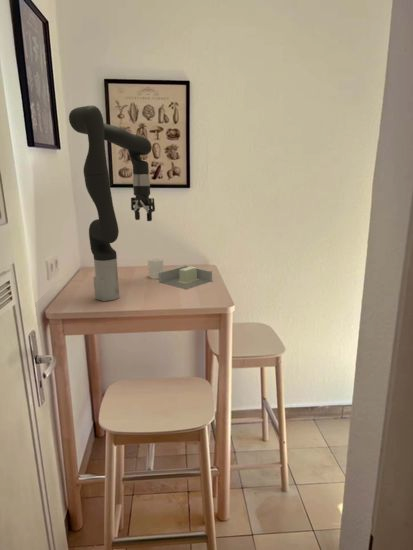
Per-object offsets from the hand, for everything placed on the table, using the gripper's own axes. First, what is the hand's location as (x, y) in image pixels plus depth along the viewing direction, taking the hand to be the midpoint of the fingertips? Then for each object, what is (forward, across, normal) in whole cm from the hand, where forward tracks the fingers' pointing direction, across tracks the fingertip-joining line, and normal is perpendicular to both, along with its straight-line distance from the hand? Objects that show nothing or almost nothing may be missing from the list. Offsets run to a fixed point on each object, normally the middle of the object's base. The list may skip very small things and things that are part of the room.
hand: (143, 220), depth 177 cm
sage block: (+29, -16, -13) cm, 36 cm away
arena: (+30, -16, -11) cm, 36 cm away
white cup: (+30, +2, -8) cm, 31 cm away
